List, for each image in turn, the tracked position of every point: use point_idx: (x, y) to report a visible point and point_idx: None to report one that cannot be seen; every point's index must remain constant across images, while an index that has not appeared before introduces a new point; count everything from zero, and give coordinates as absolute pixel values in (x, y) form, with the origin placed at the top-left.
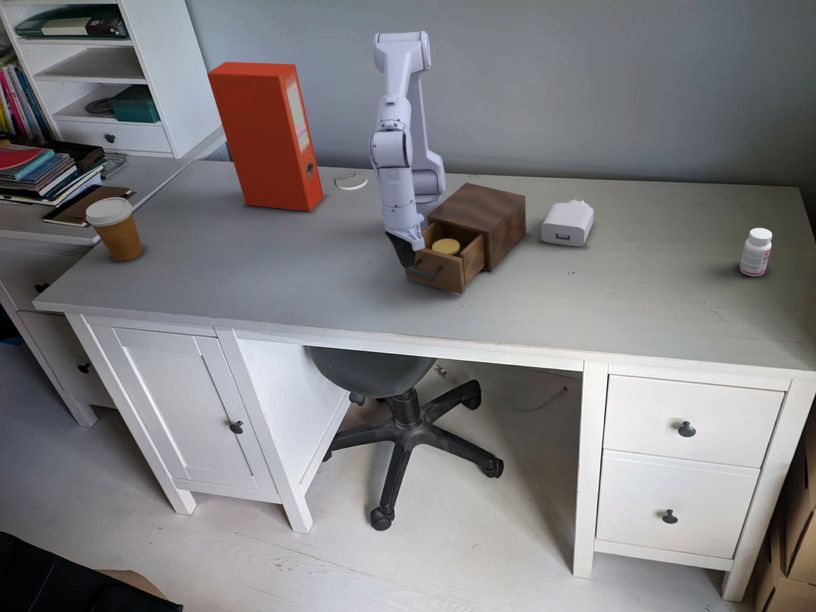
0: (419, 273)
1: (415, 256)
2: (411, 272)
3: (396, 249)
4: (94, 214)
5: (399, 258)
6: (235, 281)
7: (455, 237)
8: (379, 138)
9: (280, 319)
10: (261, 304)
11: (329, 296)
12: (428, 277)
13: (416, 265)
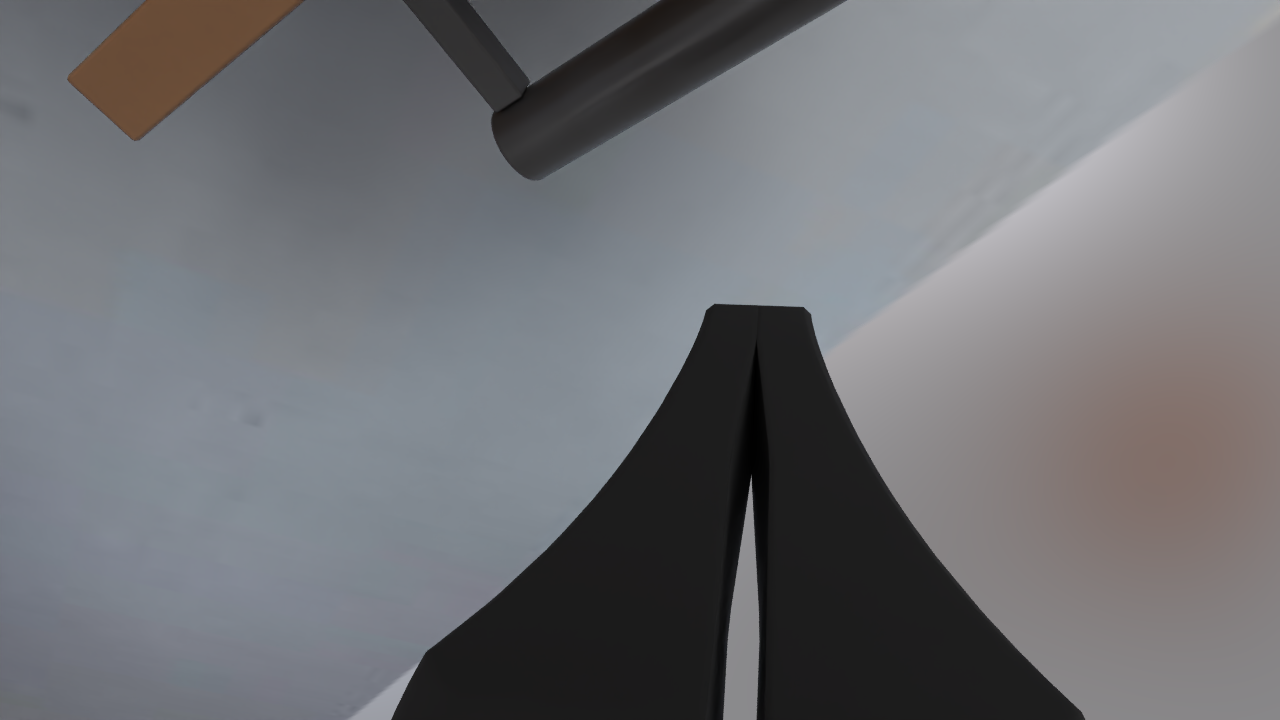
0: (689, 85)
1: (830, 385)
2: (605, 140)
3: (725, 672)
4: None
5: (741, 529)
6: (135, 627)
7: None
8: None
9: (480, 602)
10: (337, 615)
11: (368, 421)
12: (820, 15)
13: (473, 20)
